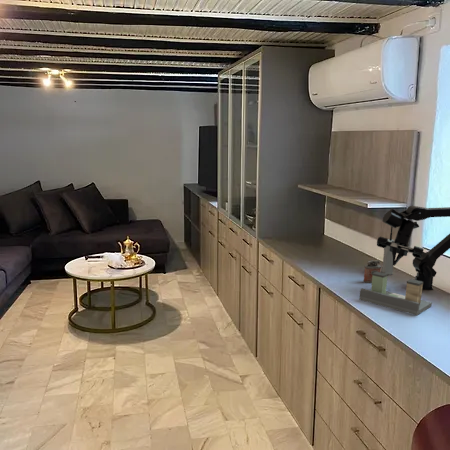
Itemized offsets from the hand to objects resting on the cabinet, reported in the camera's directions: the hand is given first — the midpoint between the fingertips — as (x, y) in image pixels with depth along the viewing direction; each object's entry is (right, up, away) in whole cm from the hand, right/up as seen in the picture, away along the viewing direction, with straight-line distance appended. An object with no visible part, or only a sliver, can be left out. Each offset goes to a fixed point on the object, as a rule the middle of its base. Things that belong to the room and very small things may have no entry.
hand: (393, 265), depth 197 cm
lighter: (-4, -9, +16) cm, 19 cm away
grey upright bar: (+8, -7, +32) cm, 33 cm away
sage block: (-9, -11, -8) cm, 16 cm away
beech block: (+1, -13, -17) cm, 22 cm away
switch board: (-4, -14, -12) cm, 19 cm away
